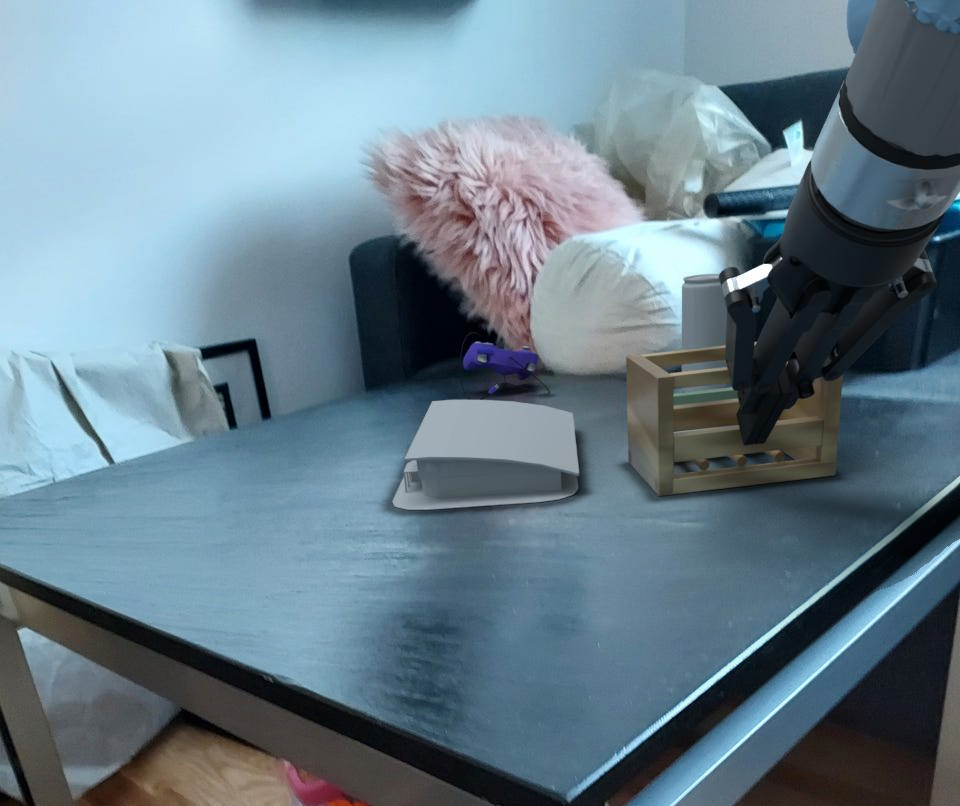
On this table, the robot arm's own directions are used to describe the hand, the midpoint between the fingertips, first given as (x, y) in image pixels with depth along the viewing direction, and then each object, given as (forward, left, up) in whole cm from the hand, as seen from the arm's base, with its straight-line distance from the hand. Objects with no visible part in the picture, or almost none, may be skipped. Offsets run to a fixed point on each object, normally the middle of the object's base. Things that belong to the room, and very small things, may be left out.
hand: (750, 428), depth 71 cm
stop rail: (-5, -23, -5) cm, 24 cm away
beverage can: (-6, -32, -5) cm, 33 cm away
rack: (0, -5, -5) cm, 7 cm away
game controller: (+14, -44, -5) cm, 46 cm away
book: (+19, -14, -5) cm, 24 cm away
